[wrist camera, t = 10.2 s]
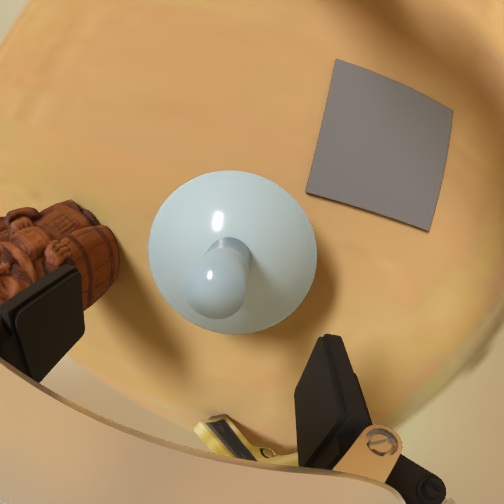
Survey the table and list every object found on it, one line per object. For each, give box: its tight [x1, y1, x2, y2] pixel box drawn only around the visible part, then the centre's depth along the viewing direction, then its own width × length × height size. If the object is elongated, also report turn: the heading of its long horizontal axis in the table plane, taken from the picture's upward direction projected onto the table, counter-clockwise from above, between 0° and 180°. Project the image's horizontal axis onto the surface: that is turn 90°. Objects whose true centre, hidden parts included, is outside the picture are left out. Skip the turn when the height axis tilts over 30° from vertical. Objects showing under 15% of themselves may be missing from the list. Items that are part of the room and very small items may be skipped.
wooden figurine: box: [0, 200, 119, 311], centre depth 20 cm, size 12×6×18 cm, turn 50°
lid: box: [148, 171, 317, 335], centre depth 19 cm, size 13×13×7 cm
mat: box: [305, 59, 453, 231], centre depth 24 cm, size 14×14×1 cm
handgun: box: [193, 414, 299, 466], centre depth 33 cm, size 2×19×12 cm
